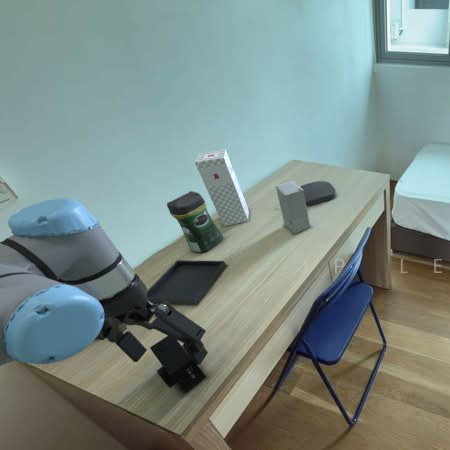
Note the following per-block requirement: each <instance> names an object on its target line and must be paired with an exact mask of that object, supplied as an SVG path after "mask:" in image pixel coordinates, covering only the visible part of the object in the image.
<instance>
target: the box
mask: <svg viewBox="0 0 450 450" xmlns="http://www.w3.org/2000/svg"><path fill="white" fill-rule="evenodd" d="M194 164H195V166H196V168H197V169H196V170H197V171H198V174H199V176H200V177H201V180H202V181H203V184H204V186H205V189H206V191H207V193H208V195H209V197H210V200H211V202H212V204H213V206H214V208H215V211H216V213H217V216H218V217H219V219H220V222H221V224H222V227H228V226H233V225H237V224H241V223H246V222H249V212H250V211H249V208H248V205H247V202H246V199H245V197H244V194H243V191H242V189H241V186H240V184H239V181H238V179H237V178H238V177H237V175H236V173H235V170H234V168H233V166H232V163H231V160H230V157H229V154H228V151H227V150H226V148H224V149H217V150H211V151H206V152H199V153H198V154H197V156H196V158H195V161H194Z"/></svg>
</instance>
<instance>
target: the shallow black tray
mask: <svg viewBox="0 0 450 450" xmlns="http://www.w3.org/2000/svg"><path fill="white" fill-rule="evenodd" d="M226 268H227V264H226V261H225V260H189V259H188V260H184V259H183V260H182V259H178V260H176V261H175V262H174V263H172V265H171V266H170V267H169V268H168V269H167V270H166V271H165V272H164V273H163V274H162V275H161V277H159V278H158V279H157V280H156V281H155V282H154V283H153V284H152V285H151V287H149V288H148V289H147V290H148V291H147V299H148V300H149V301H150V302H152V303H153V304H154V305H158V304H161V302H162V301H164V300H165V301H168V302H169V303H170V304H171V305H180V306H181V305H182V306H198V305H199V304H200V301H201V300H203V298H204V296H206V294H207V293H208V291H209V290H210V289H211V287H212V286H213V285H214V283H215V282H216V281H217V280H218V279H219V277H220V276H221V274H222V273H223V272H224V271H225V270H226Z"/></svg>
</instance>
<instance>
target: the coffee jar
mask: <svg viewBox="0 0 450 450" xmlns="http://www.w3.org/2000/svg"><path fill="white" fill-rule="evenodd" d="M166 207H167V208H168V212H169V214H170V216H172V217H173V218H174V219H175V220H176V221H177V223H178V224H179V226H180V228H181V230H182V232H183V235H184V238H185V240H186V243H187V245H188V247H189V249H190V250H191V251H193V252H196V253H205V252H207V251H209V250H210V249H212V248H214V247H215V246H217V245H218V244H219V243H221V241H222V240H223V235H222V233H221V231H220V230H219V228H218V227H217V224H215V222H214V220H213V219H212V217H211V215H210V214H209V212H208V208H207V202H206V200H205V199H204V198H203V196H202V195H201V194H200V193H199V192H197V191H191V190H190V191H188V192H187V193H184V194H182V195H181V196H179V197H177V198H175V199H173V200H171V201H168V202H167V203H166Z"/></svg>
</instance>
